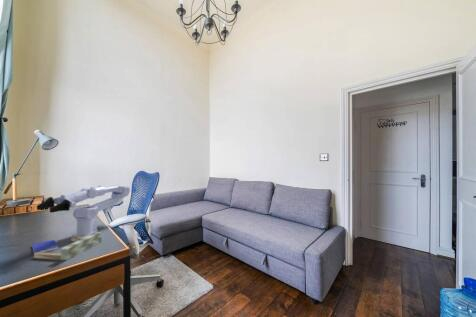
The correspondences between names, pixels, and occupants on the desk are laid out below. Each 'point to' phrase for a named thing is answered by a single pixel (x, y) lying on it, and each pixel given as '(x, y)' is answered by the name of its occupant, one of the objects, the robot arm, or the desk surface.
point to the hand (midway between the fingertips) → (43, 209)
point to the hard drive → (44, 246)
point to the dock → (73, 247)
